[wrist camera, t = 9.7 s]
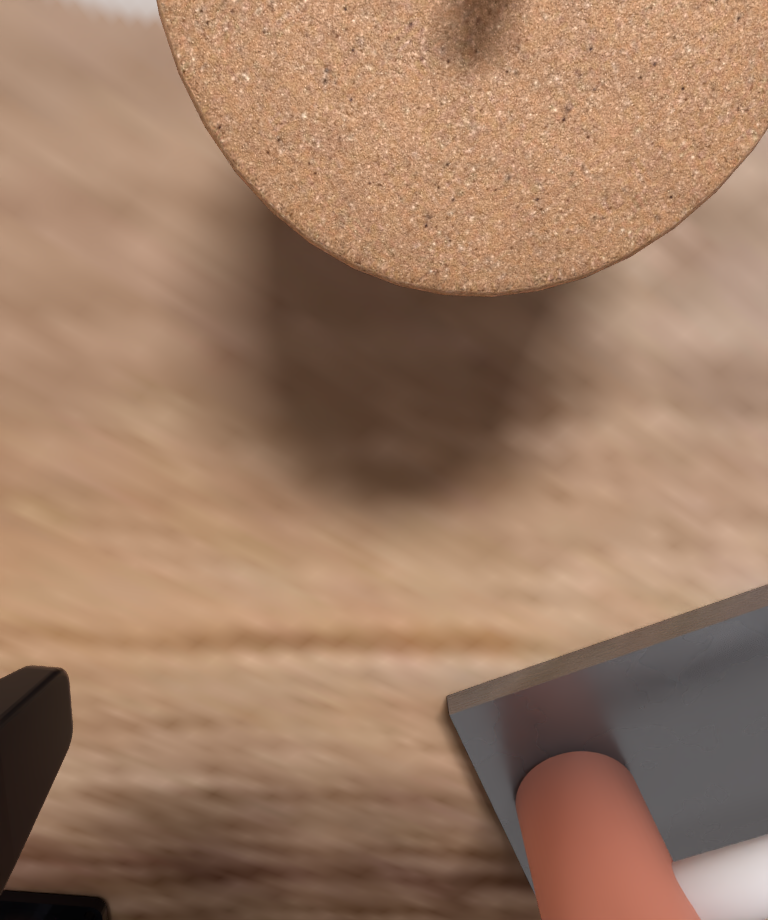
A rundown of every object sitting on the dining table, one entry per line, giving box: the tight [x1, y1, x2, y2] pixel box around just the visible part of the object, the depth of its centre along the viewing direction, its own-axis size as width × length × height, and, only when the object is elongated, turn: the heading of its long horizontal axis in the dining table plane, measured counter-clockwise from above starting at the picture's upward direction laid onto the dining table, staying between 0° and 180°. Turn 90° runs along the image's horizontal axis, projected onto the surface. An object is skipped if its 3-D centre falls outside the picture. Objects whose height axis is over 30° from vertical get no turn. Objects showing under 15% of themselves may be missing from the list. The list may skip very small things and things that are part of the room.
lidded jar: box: [157, 0, 768, 297], centre depth 12 cm, size 11×11×9 cm
